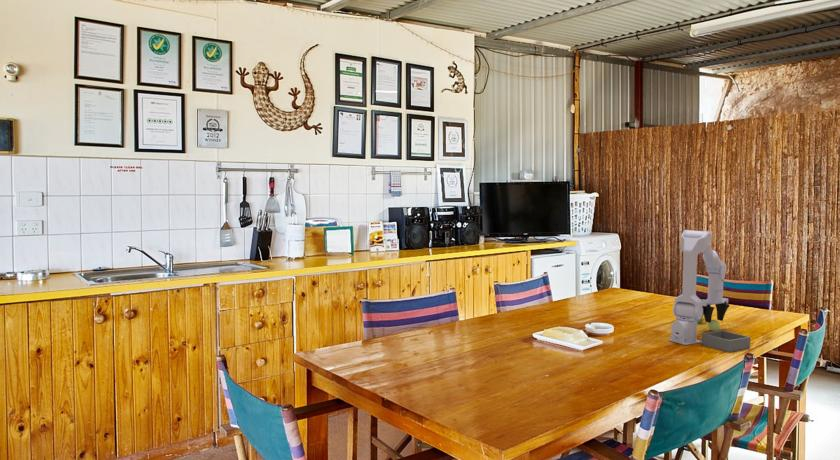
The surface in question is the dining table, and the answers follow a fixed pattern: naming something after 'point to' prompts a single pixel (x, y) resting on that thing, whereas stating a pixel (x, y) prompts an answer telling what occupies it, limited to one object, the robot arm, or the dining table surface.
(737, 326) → the dining table surface
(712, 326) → the lime
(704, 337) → the tub
